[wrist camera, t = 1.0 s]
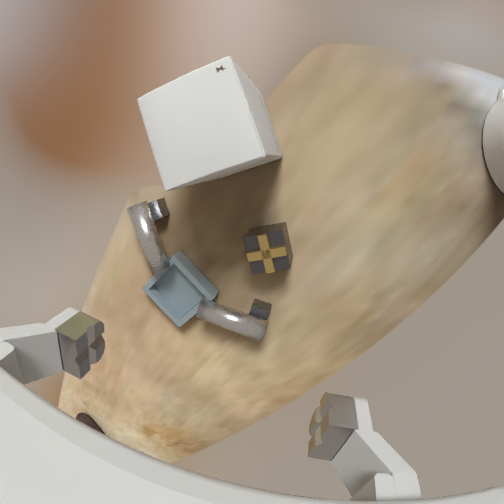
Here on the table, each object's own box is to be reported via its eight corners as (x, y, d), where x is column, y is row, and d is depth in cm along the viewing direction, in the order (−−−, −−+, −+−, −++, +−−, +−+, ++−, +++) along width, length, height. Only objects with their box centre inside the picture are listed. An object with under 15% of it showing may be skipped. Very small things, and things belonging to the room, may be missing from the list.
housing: (180, 249, 41) (173, 255, 39) (219, 291, 42) (214, 298, 40) (149, 282, 44) (141, 288, 42) (185, 320, 45) (179, 327, 42)
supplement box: (195, 115, 36) (132, 96, 22) (261, 91, 34) (231, 51, 19) (216, 181, 38) (162, 194, 24) (284, 159, 36) (267, 157, 21)
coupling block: (285, 221, 38) (281, 231, 33) (292, 256, 39) (290, 270, 34) (250, 228, 39) (242, 238, 34) (258, 261, 40) (251, 276, 35)
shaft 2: (205, 309, 43) (193, 326, 39) (211, 283, 42) (199, 298, 37) (264, 330, 43) (258, 350, 38) (273, 305, 41) (268, 323, 37)
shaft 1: (185, 257, 42) (170, 269, 37) (159, 264, 43) (143, 277, 38) (163, 195, 40) (144, 200, 35) (138, 206, 41) (118, 212, 36)
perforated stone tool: (78, 406, 60) (63, 422, 54) (91, 409, 59) (76, 426, 53) (105, 444, 64) (93, 461, 57) (118, 448, 63) (107, 465, 56)
